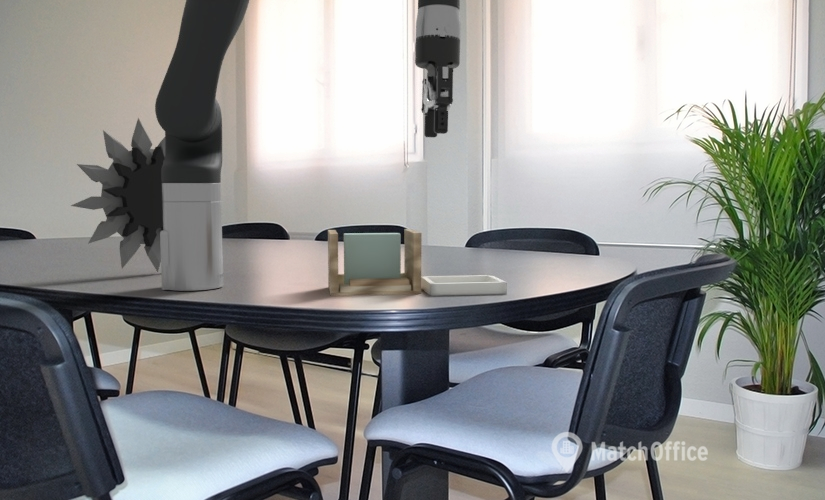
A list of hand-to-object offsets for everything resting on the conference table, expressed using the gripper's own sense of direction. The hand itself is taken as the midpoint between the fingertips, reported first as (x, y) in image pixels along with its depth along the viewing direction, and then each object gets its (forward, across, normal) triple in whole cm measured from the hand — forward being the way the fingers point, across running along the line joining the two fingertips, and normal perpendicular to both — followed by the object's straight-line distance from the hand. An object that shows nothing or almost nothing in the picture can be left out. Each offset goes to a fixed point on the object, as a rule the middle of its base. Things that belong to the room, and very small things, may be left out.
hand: (435, 135), depth 114 cm
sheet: (+25, +5, -11) cm, 28 cm away
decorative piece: (+27, -24, -50) cm, 61 cm away
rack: (+26, +7, -11) cm, 29 cm away
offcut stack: (+26, +10, -11) cm, 30 cm away
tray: (+25, +10, +3) cm, 27 cm away
